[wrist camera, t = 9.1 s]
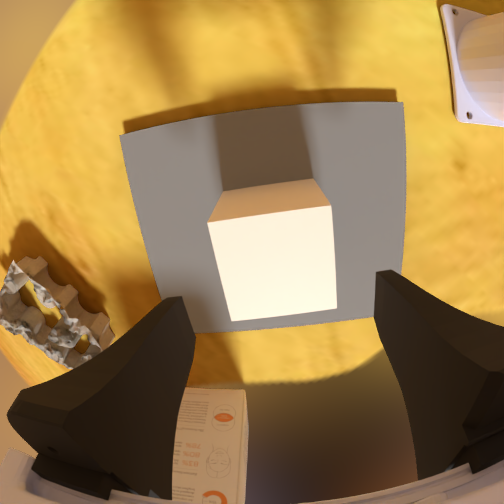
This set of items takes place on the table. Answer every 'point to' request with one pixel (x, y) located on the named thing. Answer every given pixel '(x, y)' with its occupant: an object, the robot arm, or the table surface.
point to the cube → (275, 249)
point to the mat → (263, 173)
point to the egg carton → (33, 321)
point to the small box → (211, 447)
